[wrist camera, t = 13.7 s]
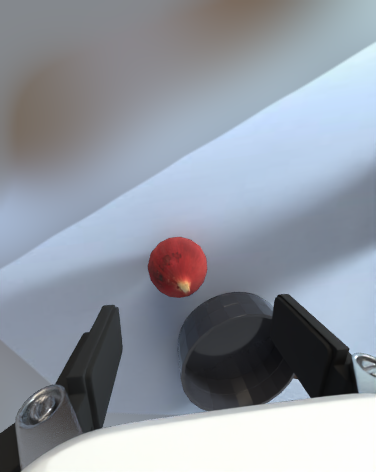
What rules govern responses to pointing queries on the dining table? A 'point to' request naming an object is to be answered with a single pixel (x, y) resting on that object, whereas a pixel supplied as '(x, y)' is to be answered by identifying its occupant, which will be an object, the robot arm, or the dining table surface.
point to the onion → (177, 267)
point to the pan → (231, 354)
